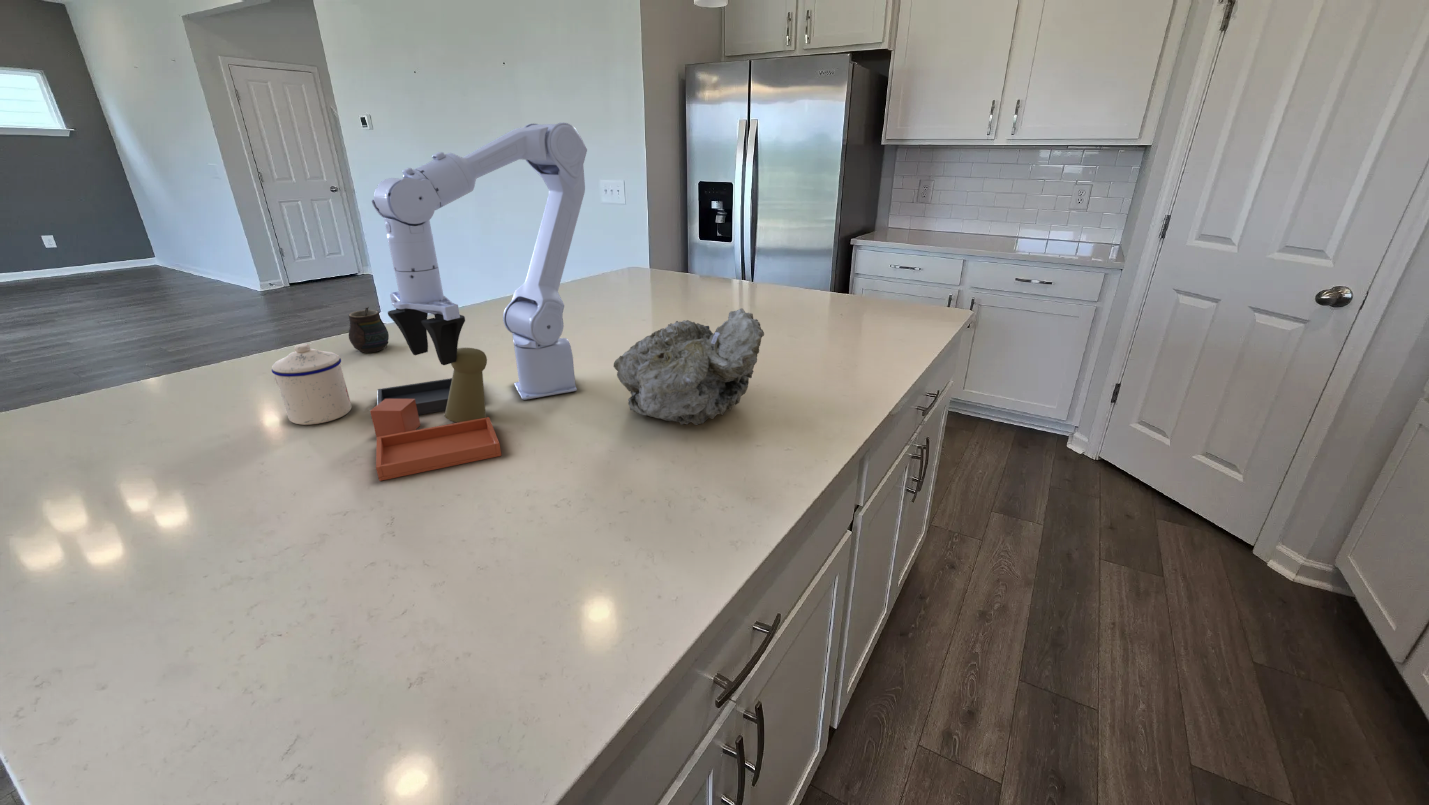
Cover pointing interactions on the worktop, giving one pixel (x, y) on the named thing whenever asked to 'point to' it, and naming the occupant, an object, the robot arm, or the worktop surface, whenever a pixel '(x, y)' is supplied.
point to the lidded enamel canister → (312, 385)
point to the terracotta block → (395, 416)
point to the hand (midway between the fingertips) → (434, 358)
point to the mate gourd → (367, 331)
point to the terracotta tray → (435, 448)
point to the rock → (691, 368)
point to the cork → (467, 386)
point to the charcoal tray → (420, 395)
